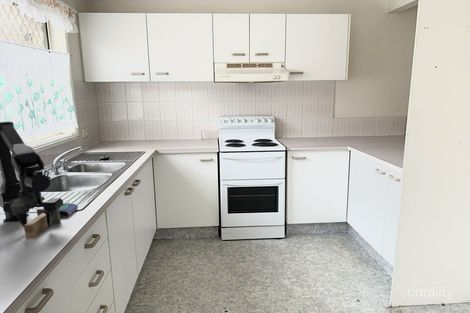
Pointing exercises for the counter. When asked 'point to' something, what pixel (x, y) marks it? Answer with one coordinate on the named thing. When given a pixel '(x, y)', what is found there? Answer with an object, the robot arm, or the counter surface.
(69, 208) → the blue painted container
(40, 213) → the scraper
